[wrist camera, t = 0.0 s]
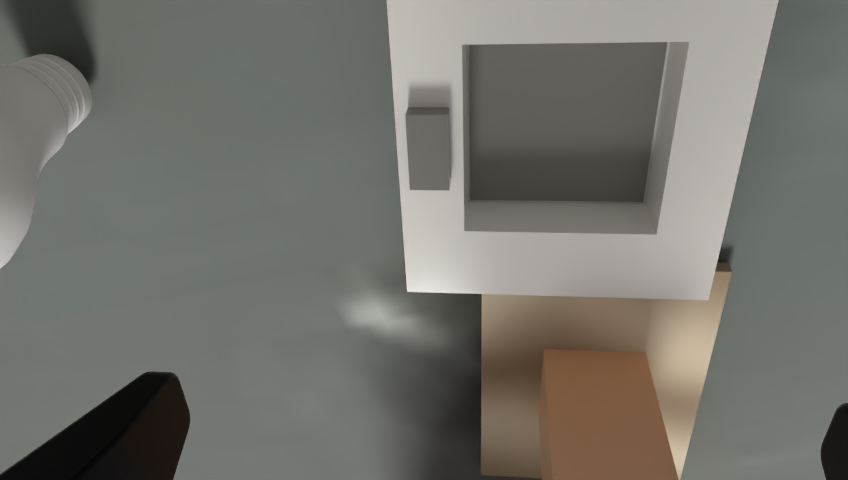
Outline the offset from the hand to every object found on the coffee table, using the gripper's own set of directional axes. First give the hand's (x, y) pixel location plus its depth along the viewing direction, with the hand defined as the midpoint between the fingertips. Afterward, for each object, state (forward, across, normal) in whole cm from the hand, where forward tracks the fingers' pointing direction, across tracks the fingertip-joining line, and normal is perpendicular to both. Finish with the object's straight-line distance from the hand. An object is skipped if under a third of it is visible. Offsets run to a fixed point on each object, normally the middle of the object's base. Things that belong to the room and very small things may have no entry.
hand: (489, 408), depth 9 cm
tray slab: (+15, -4, +13) cm, 20 cm away
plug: (+14, -4, +13) cm, 20 cm away
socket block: (+15, -2, +1) cm, 15 cm away
